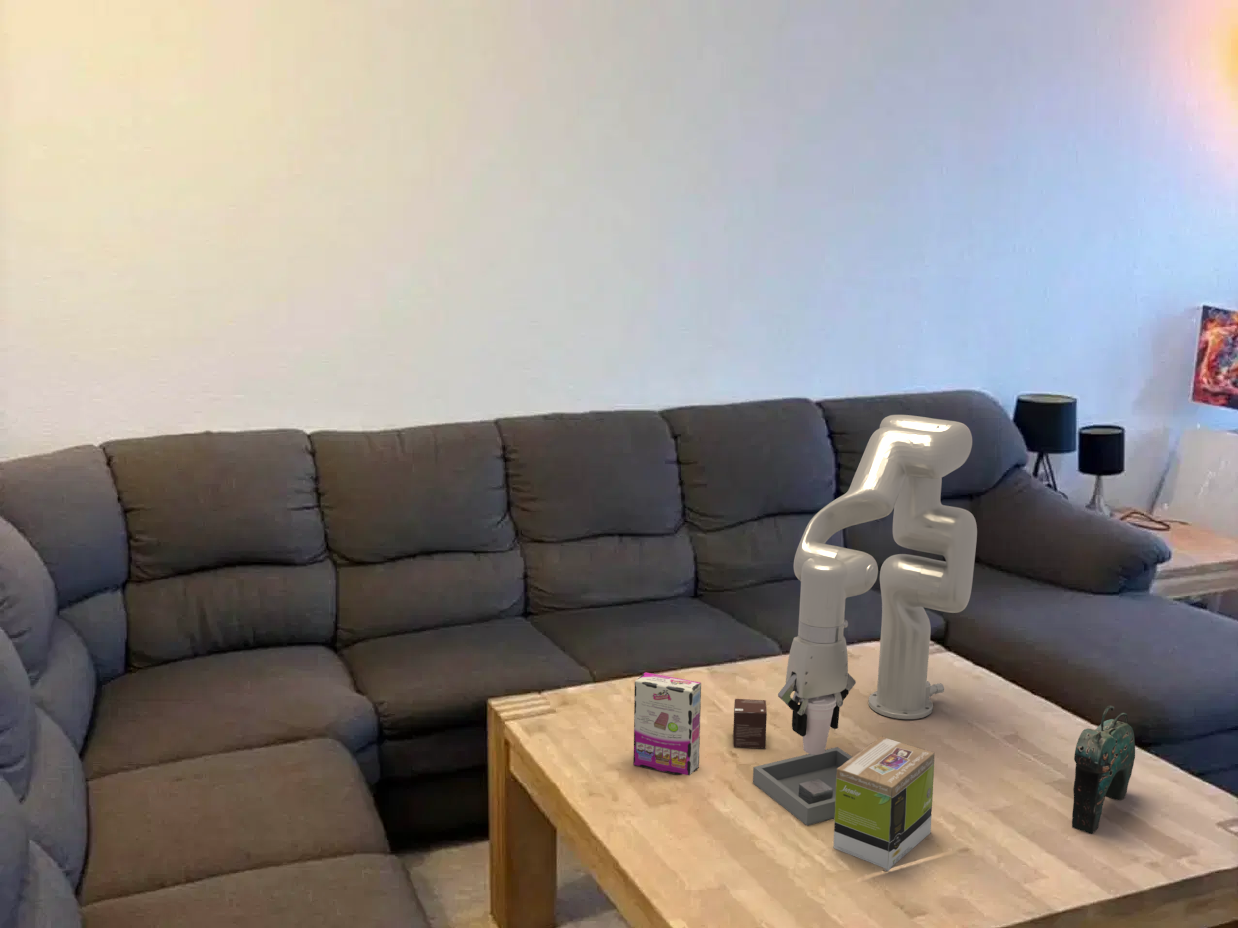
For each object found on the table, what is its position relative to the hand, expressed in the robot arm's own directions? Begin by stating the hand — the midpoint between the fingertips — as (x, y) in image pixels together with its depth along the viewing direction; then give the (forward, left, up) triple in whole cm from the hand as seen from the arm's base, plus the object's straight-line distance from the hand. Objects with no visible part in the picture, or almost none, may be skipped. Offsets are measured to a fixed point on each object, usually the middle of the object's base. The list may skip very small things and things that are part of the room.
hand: (815, 728), depth 214 cm
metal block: (+4, +7, -11) cm, 13 cm away
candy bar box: (+19, -18, -11) cm, 29 cm away
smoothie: (0, 0, -4) cm, 4 cm away
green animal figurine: (-39, +28, -11) cm, 49 cm away
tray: (0, +3, -11) cm, 12 cm away
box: (0, -20, -11) cm, 23 cm away
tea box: (+1, +20, -11) cm, 23 cm away
